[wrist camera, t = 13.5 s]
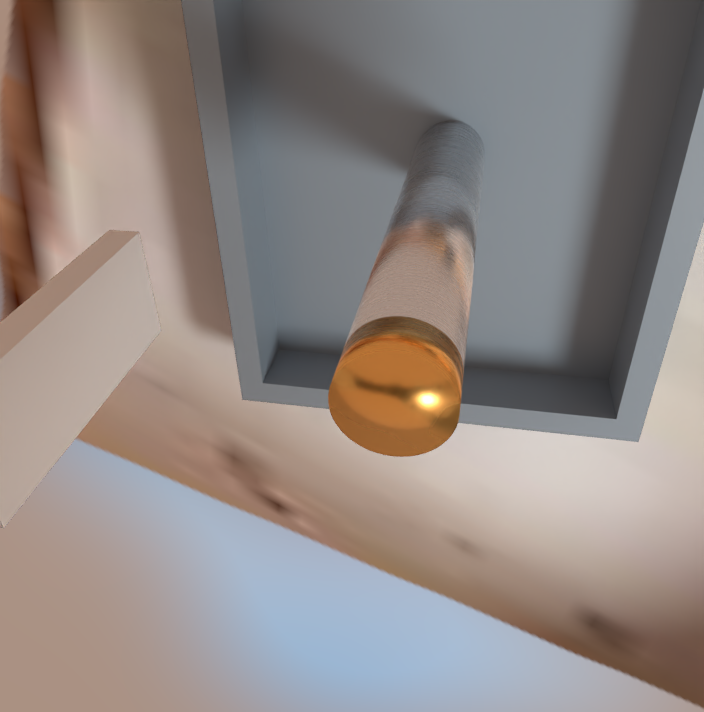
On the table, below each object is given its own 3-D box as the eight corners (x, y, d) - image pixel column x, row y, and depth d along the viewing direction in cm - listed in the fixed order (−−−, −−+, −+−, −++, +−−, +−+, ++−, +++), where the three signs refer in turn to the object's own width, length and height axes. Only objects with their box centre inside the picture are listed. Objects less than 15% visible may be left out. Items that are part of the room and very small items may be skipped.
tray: (626, 387, 28) (638, 441, 26) (266, 353, 31) (242, 399, 28) (790, -236, 17) (846, -261, 14) (199, -202, 20) (147, -216, 17)
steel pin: (481, 190, 24) (455, 463, 12) (414, 186, 24) (330, 448, 13) (487, 121, 22) (464, 358, 11) (416, 119, 23) (324, 346, 12)
